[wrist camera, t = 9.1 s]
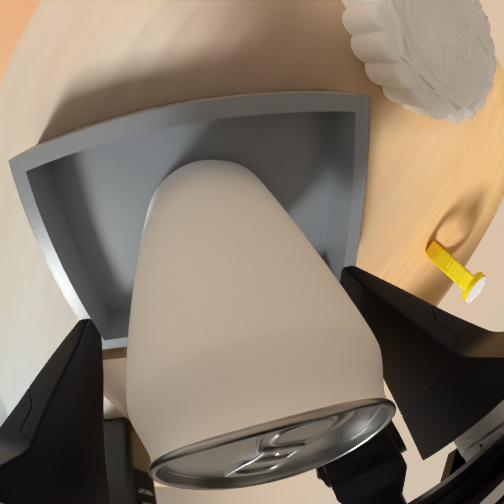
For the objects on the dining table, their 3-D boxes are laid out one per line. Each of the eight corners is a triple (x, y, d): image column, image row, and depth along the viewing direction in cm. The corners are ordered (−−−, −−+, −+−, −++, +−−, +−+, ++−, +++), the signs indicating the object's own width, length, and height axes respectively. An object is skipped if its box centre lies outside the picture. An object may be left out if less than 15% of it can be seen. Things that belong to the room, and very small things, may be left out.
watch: (451, 246, 23) (491, 282, 18) (435, 268, 24) (474, 306, 19) (430, 227, 20) (480, 270, 15) (412, 254, 21) (458, 300, 16)
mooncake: (304, 44, 11) (339, 36, 8) (371, -72, 6) (404, -86, 3) (436, 144, 16) (472, 160, 13) (477, 34, 11) (510, 38, 8)
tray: (337, 91, 13) (369, 95, 10) (329, 270, 20) (349, 298, 17) (36, 144, 10) (8, 160, 8) (104, 316, 17) (98, 349, 15)
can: (288, 178, 14) (459, 368, 5) (244, 276, 17) (317, 474, 8) (165, 141, 12) (127, 402, 2) (137, 256, 15) (127, 491, 5)
